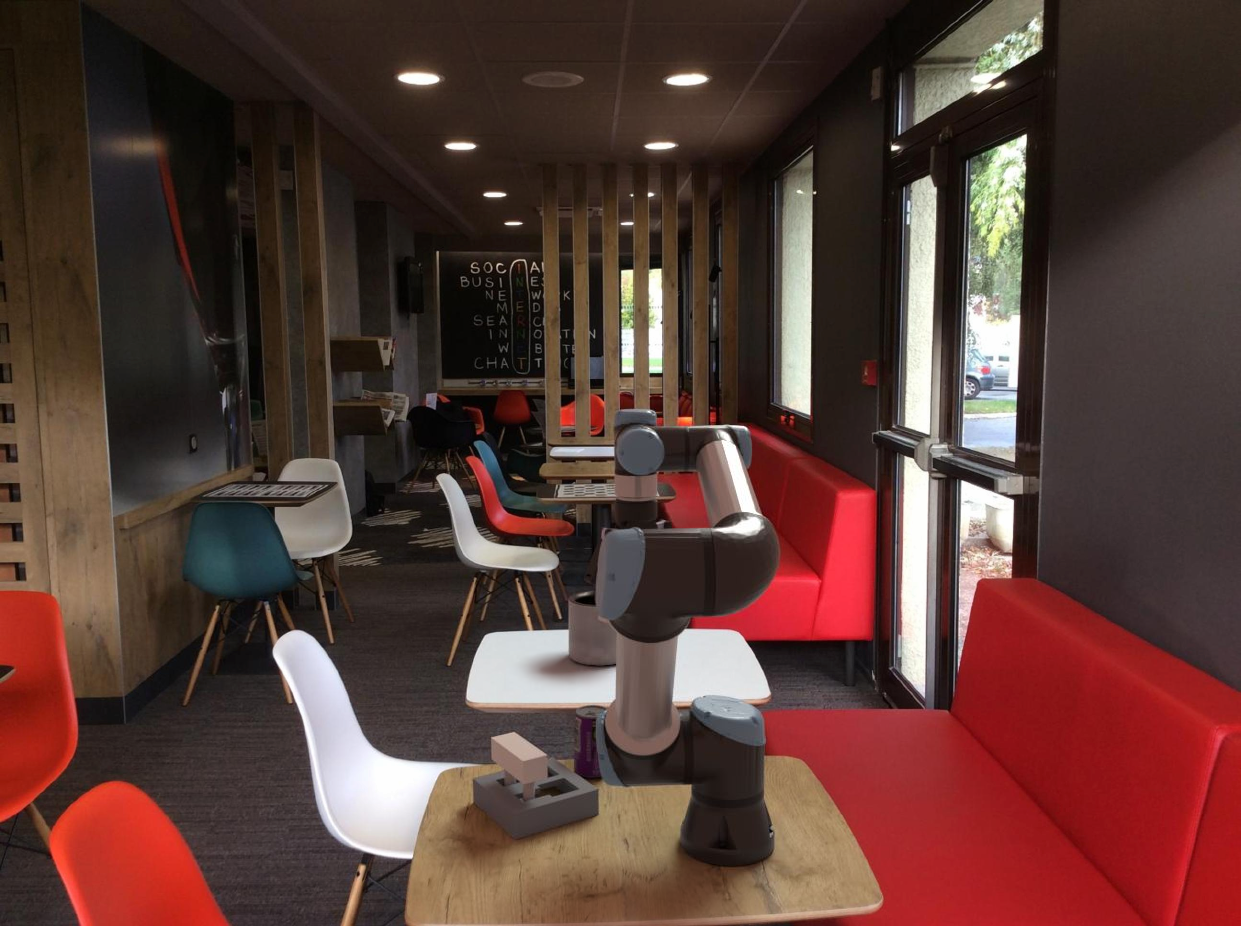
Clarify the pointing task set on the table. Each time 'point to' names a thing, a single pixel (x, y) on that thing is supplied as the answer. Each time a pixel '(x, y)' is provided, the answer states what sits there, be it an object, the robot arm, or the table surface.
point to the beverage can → (586, 741)
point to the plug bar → (519, 762)
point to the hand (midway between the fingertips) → (636, 615)
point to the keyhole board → (536, 801)
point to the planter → (590, 632)
